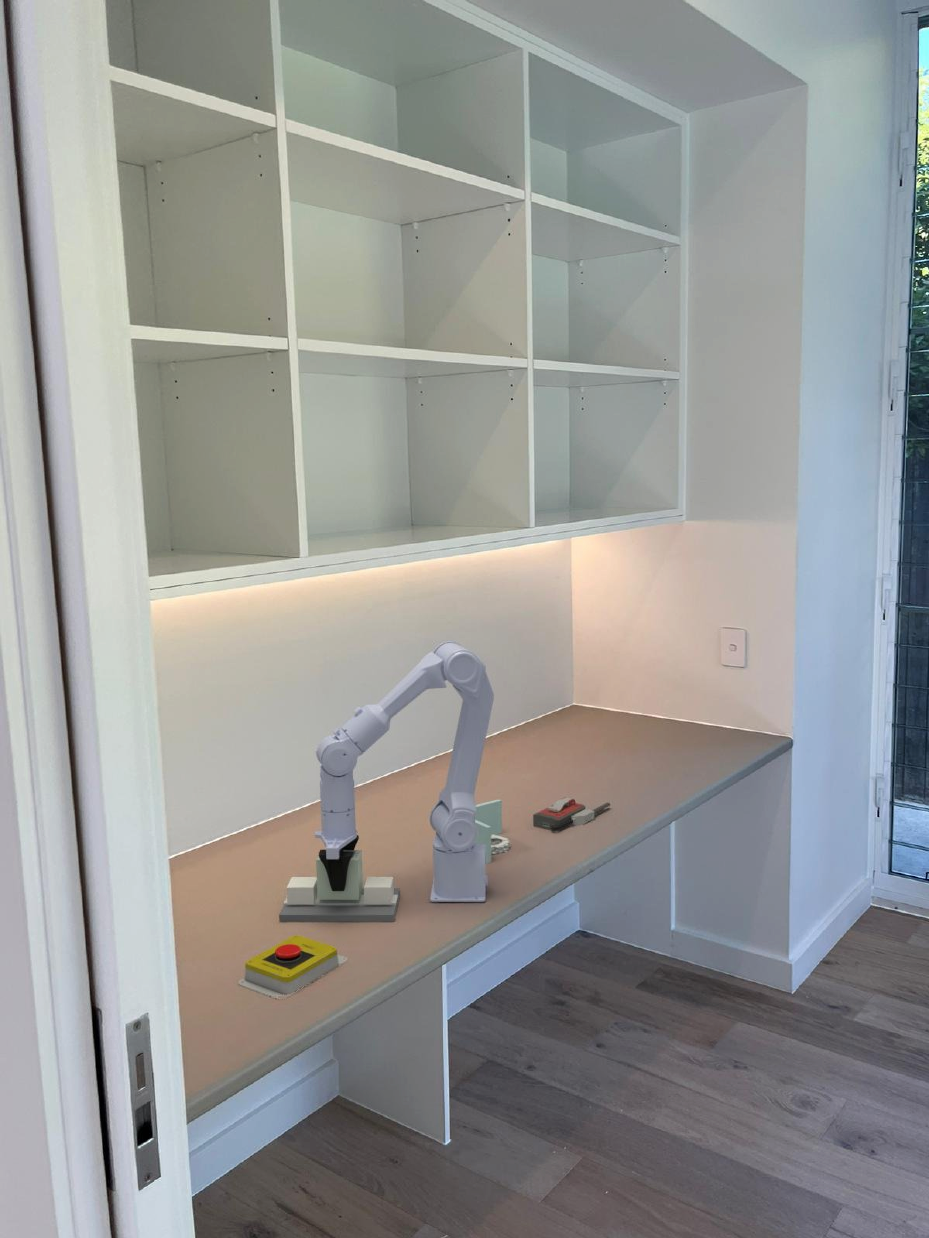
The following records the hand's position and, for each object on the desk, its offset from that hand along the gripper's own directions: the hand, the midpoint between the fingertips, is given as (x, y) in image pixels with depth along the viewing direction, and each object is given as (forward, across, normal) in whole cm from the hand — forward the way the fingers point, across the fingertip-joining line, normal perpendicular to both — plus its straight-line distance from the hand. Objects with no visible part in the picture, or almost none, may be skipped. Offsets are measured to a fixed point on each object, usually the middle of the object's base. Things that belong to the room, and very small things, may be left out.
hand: (340, 884), depth 180 cm
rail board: (+4, 0, 0) cm, 4 cm away
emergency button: (+5, +23, -4) cm, 23 cm away
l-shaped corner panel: (+5, -29, +26) cm, 39 cm away
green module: (+2, 0, 0) cm, 2 cm away
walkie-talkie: (+5, -45, +42) cm, 62 cm away
